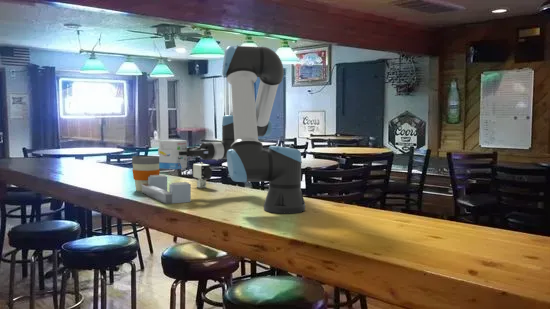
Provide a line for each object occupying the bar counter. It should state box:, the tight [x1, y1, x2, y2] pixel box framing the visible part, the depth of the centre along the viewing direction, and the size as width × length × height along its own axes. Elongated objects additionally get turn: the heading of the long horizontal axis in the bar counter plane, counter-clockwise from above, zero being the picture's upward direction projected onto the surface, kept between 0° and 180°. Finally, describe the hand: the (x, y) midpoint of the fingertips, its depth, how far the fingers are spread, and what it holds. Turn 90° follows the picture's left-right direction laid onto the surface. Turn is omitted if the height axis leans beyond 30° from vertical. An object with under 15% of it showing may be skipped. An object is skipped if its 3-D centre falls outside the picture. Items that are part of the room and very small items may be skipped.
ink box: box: [158, 139, 188, 170], centre depth 210 cm, size 8×8×12 cm
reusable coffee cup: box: [131, 155, 161, 192], centre depth 228 cm, size 13×13×15 cm
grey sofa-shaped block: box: [148, 174, 192, 204], centre depth 210 cm, size 30×8×8 cm, turn 31°
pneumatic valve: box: [191, 161, 213, 189], centre depth 239 cm, size 6×12×12 cm, turn 37°
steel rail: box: [141, 184, 173, 205], centre depth 207 cm, size 30×3×4 cm, turn 31°
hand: (164, 152), depth 208 cm, fingers closed on ink box, 11 cm apart
